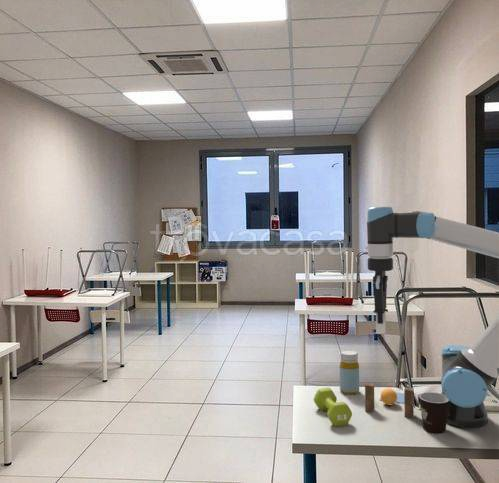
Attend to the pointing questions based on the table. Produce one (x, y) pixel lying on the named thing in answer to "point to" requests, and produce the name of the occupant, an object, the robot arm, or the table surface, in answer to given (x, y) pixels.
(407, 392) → the post near
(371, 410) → the post far
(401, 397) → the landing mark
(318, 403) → the dumbbell
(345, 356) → the bottle
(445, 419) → the coffee mug
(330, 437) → the table surface
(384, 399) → the ball
